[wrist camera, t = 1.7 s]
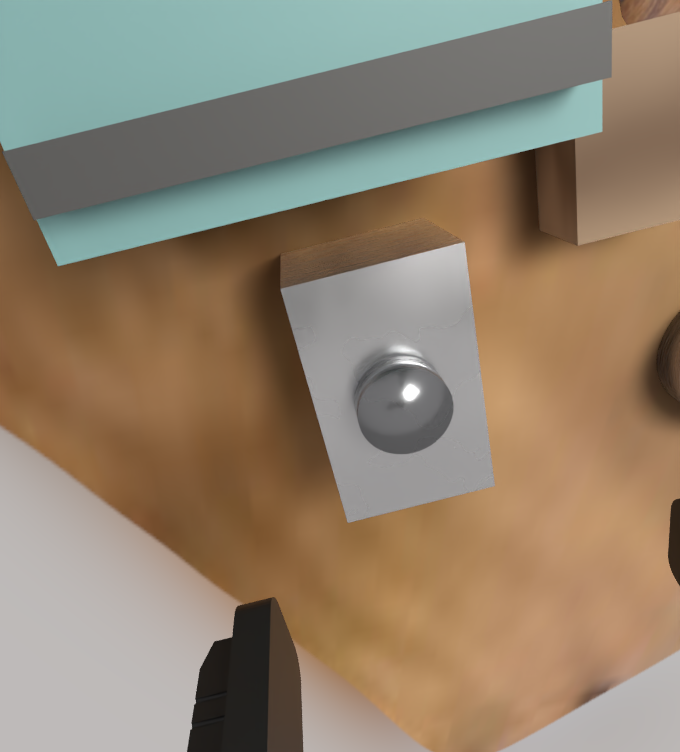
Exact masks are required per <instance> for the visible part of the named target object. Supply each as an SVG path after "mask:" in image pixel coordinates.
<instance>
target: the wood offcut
mask: <svg viewBox="0 0 680 752" xmlns="http://www.w3.org/2000/svg"><path fill="white" fill-rule="evenodd" d="M535 163H536V180H537V197H538V214H539V230H540V231H542V232H545V233H547V234H550V235H552V236H555V237H557V238H560V239H562V240H565V241H568V242H570V243H573V244H575V245H582V244H586V243H590V242H594V241H598V240H602V239H606V238H610V237H614V236H618V235H622V234H626V233H630V232H634V231H638V230H642V229H646V228H650V227H654V226H658V225H662V224H666V223H670V222H674V221H678V220H680V12H676V13H673V14H669V15H665V16H661V17H657V18H653V19H649V20H645V21H641V22H637V23H633V24H629V25H626V26H622V27H618V28H614V29H612V77H611V78H607V79H603V80H602V132H599V133H595V134H591V135H587V136H583V137H579V138H575V139H571V140H567V141H563V142H559V143H555V144H551V145H547V146H543V147H539V148H535Z"/></svg>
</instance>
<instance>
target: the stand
mask: <svg viewBox="0 0 680 752" xmlns="http://www.w3.org/2000/svg"><path fill="white" fill-rule="evenodd" d="M611 77H612V0H611V1H607V2H603V3H602V0H0V142H1V145H2V147H3V149H4V151H3V152H2V153H3V155H4V157H5V159H6V161H7V164H8V166H9V168H10V170H11V172H12V174H13V176H14V179H15V181H16V183H17V185H18V187H19V189H20V191H21V194H22V196H23V198H24V200H25V202H26V204H27V206H28V209H29V211H30V213H31V215H32V217H33V219H34V220H37V222H38V224H39V226H40V228H41V231H42V233H43V235H44V237H45V239H46V241H47V244H48V246H49V248H50V250H51V252H52V254H53V256H54V259H55V261H56V263H57V265H58V266H61V265H65V264H69V263H73V262H77V261H81V260H85V259H90V258H94V257H98V256H102V255H106V254H110V253H114V252H118V251H122V250H126V249H130V248H134V247H138V246H142V245H146V244H150V243H154V242H158V241H162V240H166V239H170V238H175V237H179V236H183V235H187V234H191V233H195V232H199V231H203V230H207V229H211V228H215V227H219V226H223V225H227V224H231V223H235V222H239V221H243V220H247V219H251V218H255V217H259V216H264V215H268V214H272V213H276V212H280V211H284V210H288V209H292V208H296V207H300V206H304V205H308V204H312V203H316V202H320V201H324V200H328V199H332V198H336V197H340V196H344V195H349V194H353V193H357V192H361V191H365V190H369V189H373V188H377V187H381V186H385V185H389V184H393V183H397V182H401V181H405V180H409V179H413V178H417V177H421V176H425V175H429V174H434V173H438V172H442V171H446V170H450V169H454V168H458V167H462V166H466V165H470V164H474V163H478V162H482V161H486V160H490V159H494V158H498V157H502V156H506V155H510V154H514V153H518V152H523V151H527V150H531V149H535V148H539V147H543V146H547V145H551V144H555V143H559V142H563V141H567V140H571V139H575V138H579V137H583V136H587V135H591V134H595V133H599V132H602V80H603V79H607V78H611Z"/></svg>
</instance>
